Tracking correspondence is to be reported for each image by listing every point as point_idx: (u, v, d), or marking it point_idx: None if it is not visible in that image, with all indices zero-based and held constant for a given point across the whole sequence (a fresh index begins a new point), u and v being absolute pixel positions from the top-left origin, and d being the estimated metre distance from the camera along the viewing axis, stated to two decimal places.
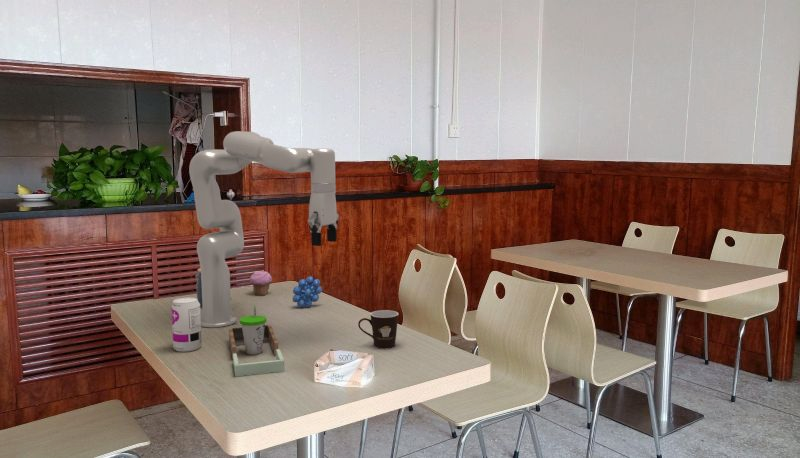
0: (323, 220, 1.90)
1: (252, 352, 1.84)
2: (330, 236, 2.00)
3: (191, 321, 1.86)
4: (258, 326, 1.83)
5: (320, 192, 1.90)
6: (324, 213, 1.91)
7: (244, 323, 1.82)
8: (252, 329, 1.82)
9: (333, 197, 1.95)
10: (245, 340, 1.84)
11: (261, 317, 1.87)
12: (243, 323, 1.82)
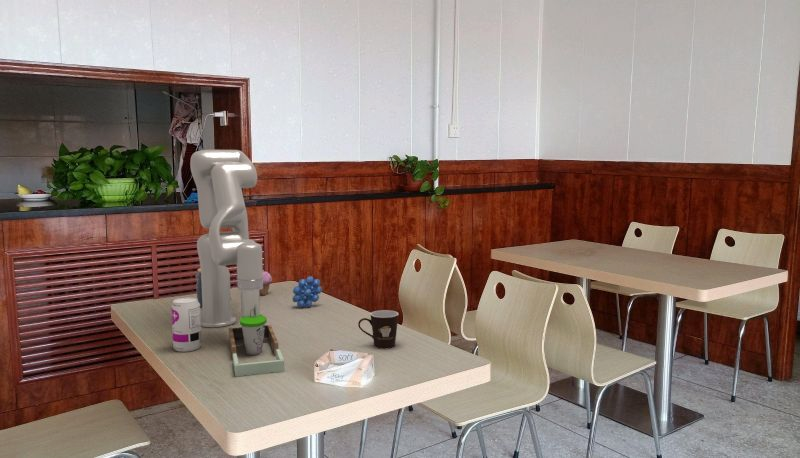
0: None
1: (252, 352, 1.84)
2: None
3: (191, 321, 1.86)
4: (258, 327, 1.82)
5: (255, 288, 1.87)
6: None
7: (244, 324, 1.81)
8: (252, 330, 1.81)
9: None
10: (245, 340, 1.83)
11: (261, 317, 1.86)
12: (243, 324, 1.81)
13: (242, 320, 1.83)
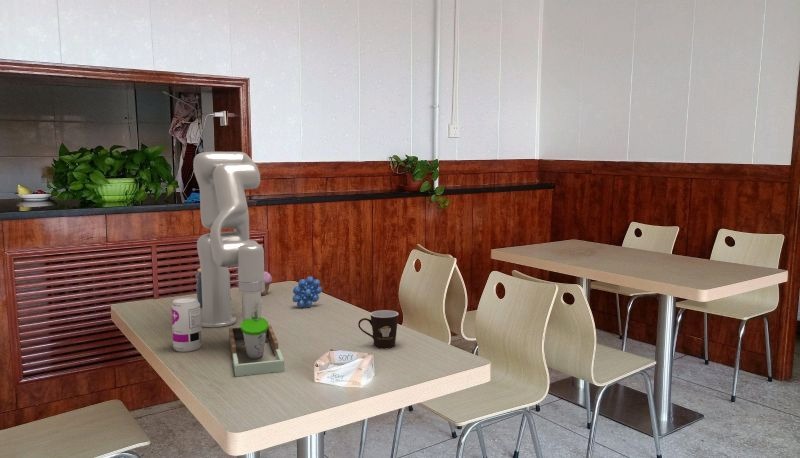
0: None
1: (253, 356, 1.80)
2: None
3: (191, 321, 1.86)
4: (260, 335, 1.77)
5: (256, 291, 1.82)
6: (261, 312, 1.83)
7: (245, 332, 1.75)
8: (254, 338, 1.76)
9: None
10: (246, 345, 1.79)
11: (263, 321, 1.80)
12: (244, 332, 1.75)
13: (243, 325, 1.77)
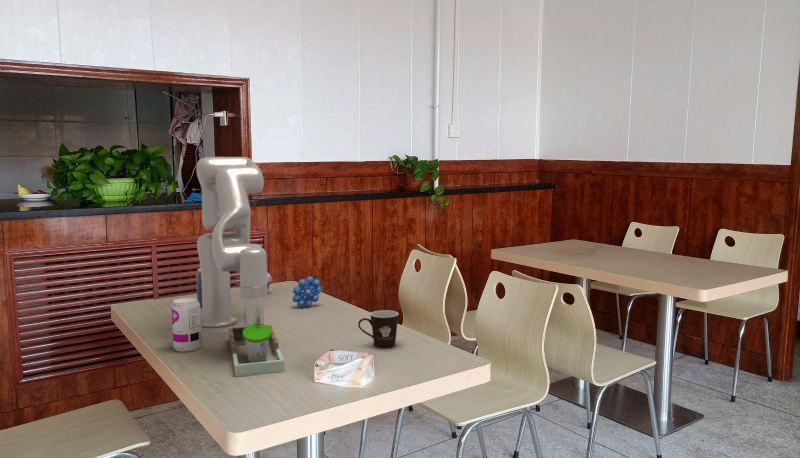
0: None
1: None
2: None
3: (191, 321, 1.86)
4: (262, 342, 1.70)
5: (258, 296, 1.75)
6: None
7: (248, 339, 1.68)
8: (256, 345, 1.69)
9: None
10: (248, 353, 1.72)
11: (266, 328, 1.73)
12: (246, 339, 1.69)
13: (245, 332, 1.71)
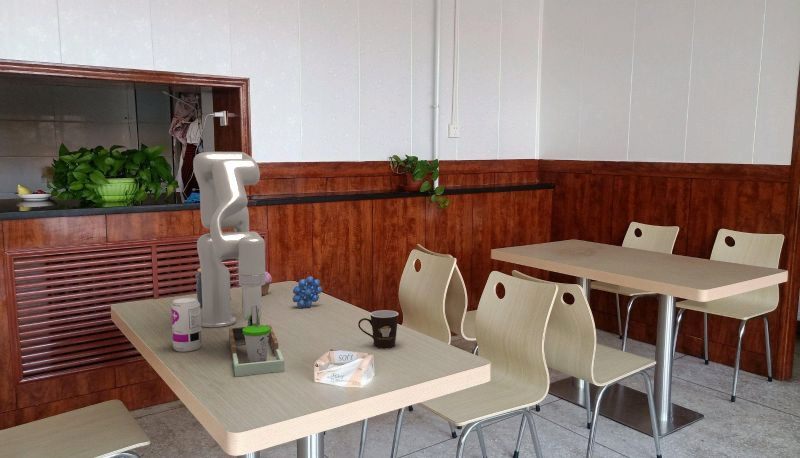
0: (261, 313, 1.80)
1: None
2: None
3: (191, 321, 1.86)
4: (262, 337, 1.72)
5: (256, 284, 1.78)
6: None
7: (247, 333, 1.71)
8: (256, 340, 1.72)
9: None
10: (248, 351, 1.73)
11: (265, 327, 1.77)
12: (246, 333, 1.72)
13: (245, 330, 1.74)
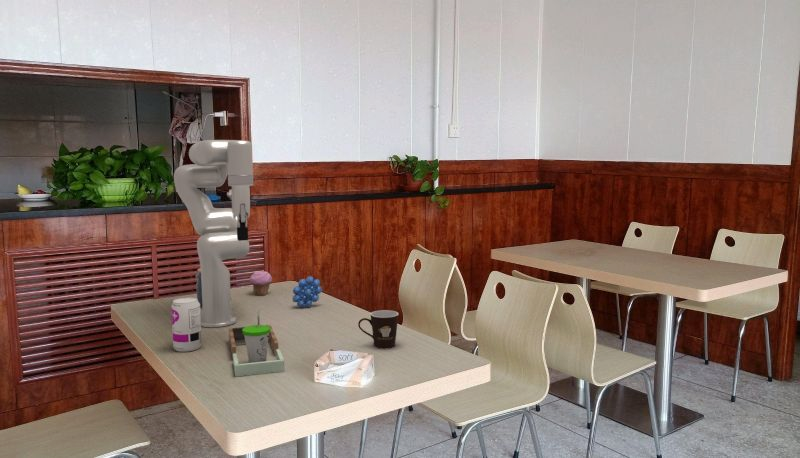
0: (249, 212, 1.90)
1: None
2: None
3: (191, 321, 1.86)
4: (262, 336, 1.72)
5: (245, 184, 1.89)
6: None
7: (247, 333, 1.71)
8: (256, 340, 1.72)
9: None
10: (248, 351, 1.73)
11: (265, 327, 1.77)
12: (246, 333, 1.72)
13: (245, 330, 1.74)
